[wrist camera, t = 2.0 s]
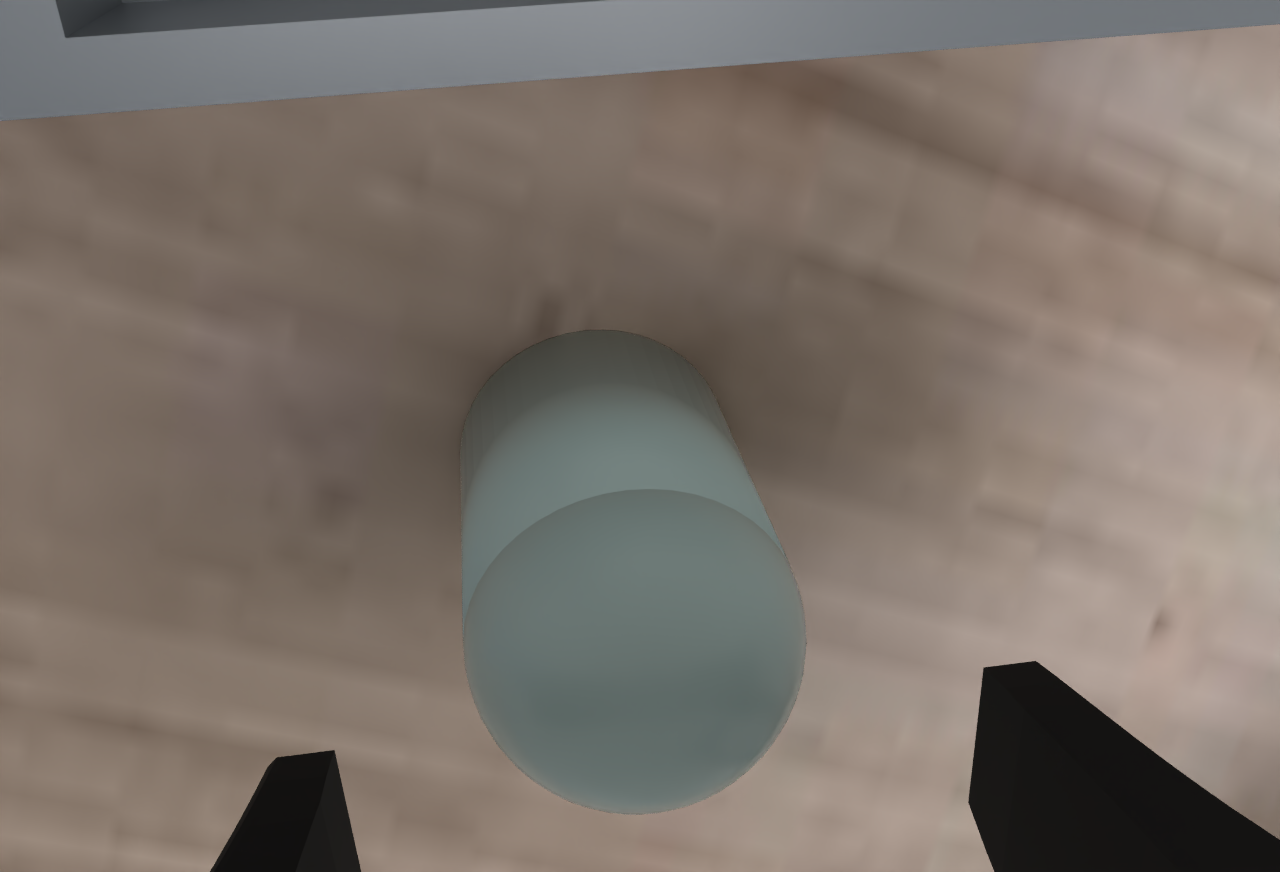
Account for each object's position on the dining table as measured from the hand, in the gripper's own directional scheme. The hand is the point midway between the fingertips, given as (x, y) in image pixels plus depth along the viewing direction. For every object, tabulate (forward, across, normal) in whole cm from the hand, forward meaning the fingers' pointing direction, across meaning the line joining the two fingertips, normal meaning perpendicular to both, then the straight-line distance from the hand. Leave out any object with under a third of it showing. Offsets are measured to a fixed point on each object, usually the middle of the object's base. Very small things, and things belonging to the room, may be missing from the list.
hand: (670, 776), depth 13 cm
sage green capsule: (+8, 0, 0) cm, 8 cm away
